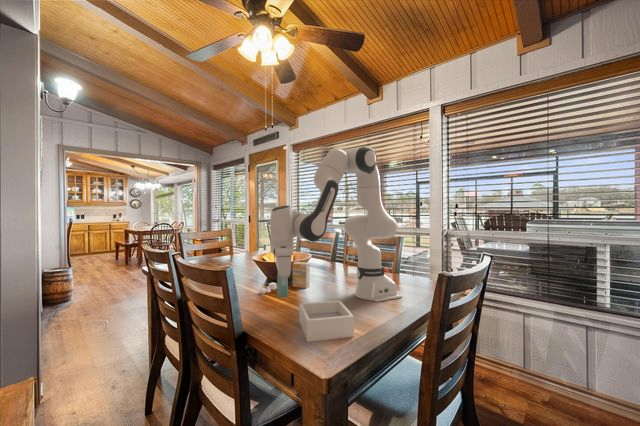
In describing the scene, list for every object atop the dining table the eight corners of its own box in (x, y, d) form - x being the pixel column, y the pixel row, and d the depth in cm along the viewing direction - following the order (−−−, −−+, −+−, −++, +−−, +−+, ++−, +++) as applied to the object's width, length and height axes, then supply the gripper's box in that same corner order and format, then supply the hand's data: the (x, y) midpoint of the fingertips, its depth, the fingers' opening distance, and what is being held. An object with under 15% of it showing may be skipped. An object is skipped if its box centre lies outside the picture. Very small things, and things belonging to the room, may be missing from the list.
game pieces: (271, 288, 153) (271, 282, 153) (277, 289, 152) (277, 283, 152) (258, 294, 142) (258, 288, 142) (263, 295, 141) (263, 289, 141)
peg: (287, 293, 115) (287, 271, 115) (288, 297, 111) (288, 273, 111) (277, 294, 114) (276, 272, 114) (278, 297, 110) (277, 274, 110)
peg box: (340, 318, 113) (340, 300, 112) (354, 336, 97) (354, 316, 97) (299, 322, 109) (299, 303, 109) (307, 341, 93) (307, 320, 93)
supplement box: (292, 287, 154) (292, 263, 153) (296, 284, 158) (295, 261, 158) (306, 288, 151) (306, 264, 150) (310, 286, 155) (309, 262, 155)
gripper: (272, 243, 121) (272, 276, 122) (275, 252, 101) (276, 291, 102) (287, 243, 122) (287, 275, 123) (293, 251, 103) (294, 290, 103)
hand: (282, 282), depth 112 cm, fingers closed on peg, 4 cm apart
